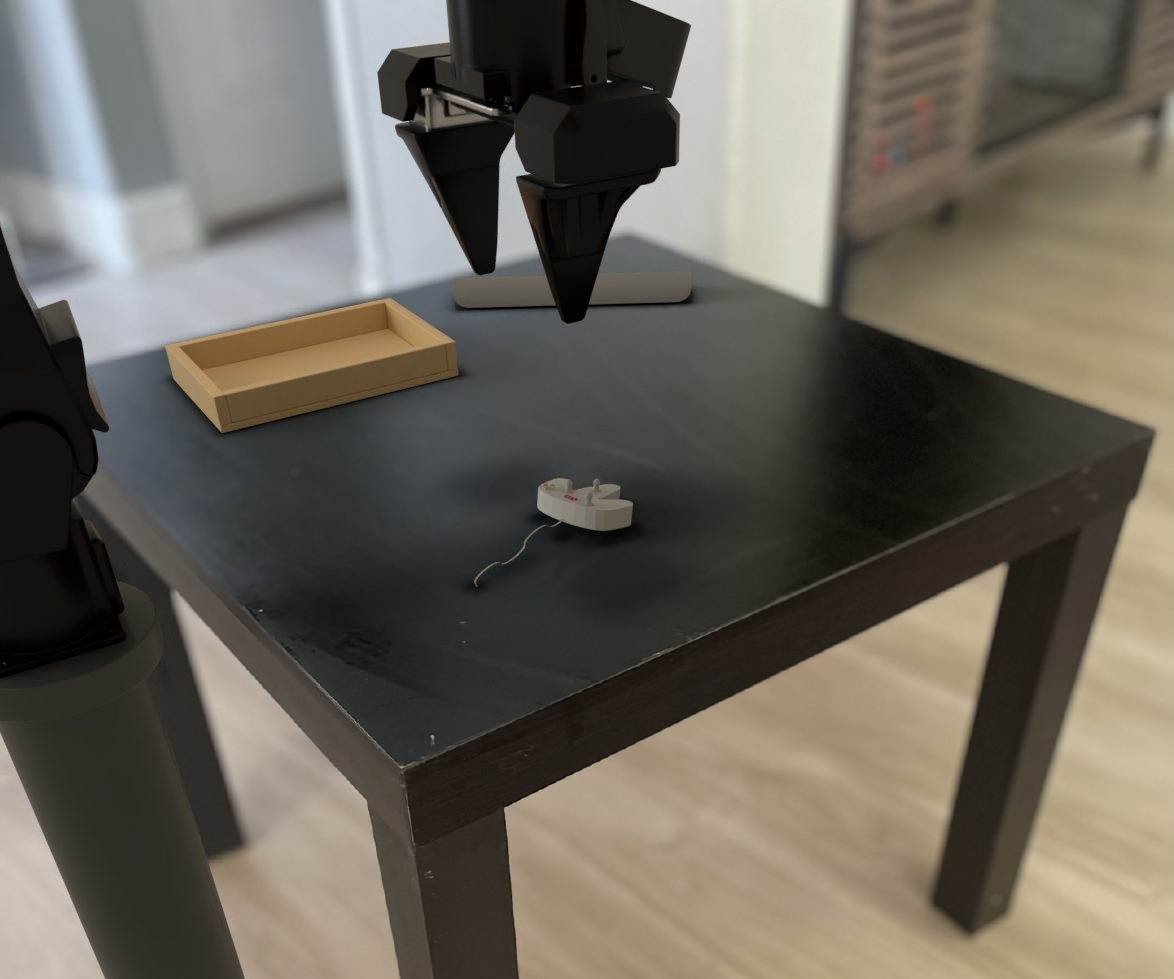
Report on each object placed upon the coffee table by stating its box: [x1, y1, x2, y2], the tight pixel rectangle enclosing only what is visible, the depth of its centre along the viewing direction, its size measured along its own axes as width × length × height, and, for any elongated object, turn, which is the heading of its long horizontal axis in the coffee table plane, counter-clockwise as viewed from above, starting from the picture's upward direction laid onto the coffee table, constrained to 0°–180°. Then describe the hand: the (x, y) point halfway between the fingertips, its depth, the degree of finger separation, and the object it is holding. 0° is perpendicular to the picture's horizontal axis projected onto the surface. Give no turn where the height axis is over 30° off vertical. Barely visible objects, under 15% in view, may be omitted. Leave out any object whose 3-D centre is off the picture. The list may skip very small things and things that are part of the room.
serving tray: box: [164, 297, 459, 434], centre depth 87 cm, size 18×12×2 cm, turn 121°
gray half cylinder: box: [452, 270, 694, 309], centre depth 99 cm, size 4×20×2 cm, turn 89°
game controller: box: [473, 477, 634, 588], centre depth 67 cm, size 6×12×3 cm, turn 158°
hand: (526, 296), depth 62 cm, fingers open, 9 cm apart
